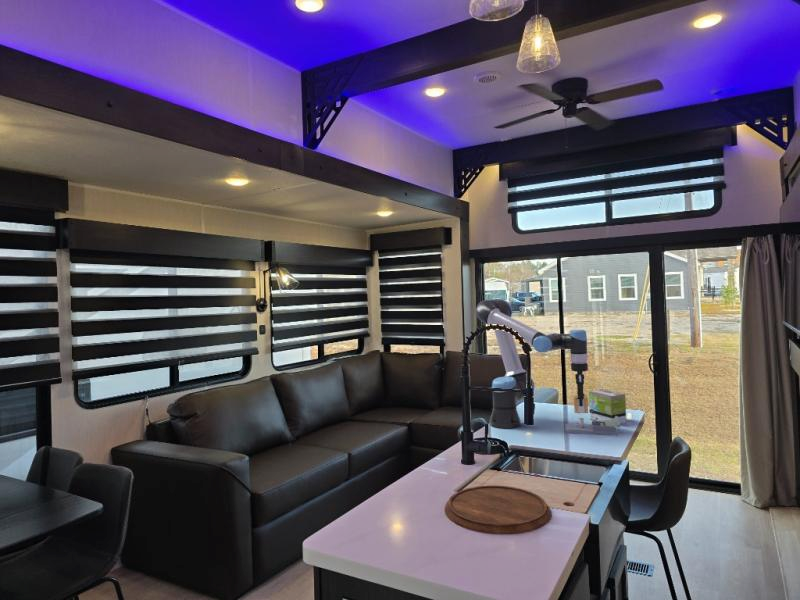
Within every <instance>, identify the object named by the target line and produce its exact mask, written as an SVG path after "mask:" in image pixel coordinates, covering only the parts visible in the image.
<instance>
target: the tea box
mask: <svg viewBox="0 0 800 600" xmlns="http://www.w3.org/2000/svg"><path fill="white" fill-rule="evenodd" d="M626 403H627V402H626V393H623V392H616V391H611V390H608V389H604V388H603V389H596V390H590V391H588V413H589V420H591V421H604V420H615V416H618V418H619V421H620V425H622V424H625V423H627V408H626V407H627V406H626ZM621 423H622V424H621Z"/></svg>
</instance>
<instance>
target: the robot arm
mask: <svg viewBox="0 0 800 600" xmlns="http://www.w3.org/2000/svg"><path fill="white" fill-rule="evenodd" d="M475 314H476V317H477V318H478V320H479V321H481V322H482V323H484V324H486V325H488V326H489V324H499V325H505V326H506V327H508V328H512V329H513V330H514V331H516V332H518V333H519V335H520V336H521V337H523V338H524V341H525V343H526V344H528V345H530V346H532V347H533V349H534V350H535V351H536V352H538V353H548V352H551V351H558V350H570V351H569V352H570V362H571V363H570V369H571V370H570V371H572V372H576V374H575V375H574V377H575V383H576V388H577V389H576V394H577V395H576V396H578V398H576V399H578V413H577V414H585V413H584V396H586V395H585V393H584V384H585V383H584V382H585V374H583V372H585V373H586V372H587V371H589V365H588V358H589V357H590V356H589V355H588V338H587V331H586V330H584V329H571V330H569V333H557V332H554V333H548V334H545V333H543V332H541V331H539V330H537V329H535V328H533V327H531V326H530V325H529V326H528V325H527V324H525V323H523V322H521V321H520V320H517V319H514V318H513V315H512V314H513V307H512V304H511V303H510V302H508V300H505V299H501V298H496V299H484V300H482V301H480V302H479V303H478V304H477V306H476V309H475ZM493 330H494V329H493ZM494 334H495V338H496V340H497V341H496V342H497V344H498V348H499V351H500V355H501V359H502V361H503V363H502V364H503V365H504V368H505V369H504V370H505V375H504V376H499V377H496V378H494V379H493V380H492V383H491V389H492V388H506V389H524V388H526V372H527V370H525V369H523V366H522V363H521V359H520V355H519V352H518V349H517V345H516V342H515V338H514V336H513V335H512V334H510V333H508V332H506V331H502V330H494ZM524 341H523V342H524ZM530 378H531V386H532V388H533V393H534V392H535V388H536V387H535V382H534V380H533V378H532V377H530ZM491 391H492V390H491ZM491 394H492V411H491V415H490V418H489V425H490V426H491V427H493V428H497V429H516V428H519V427H520V426H521V424H522V423H521V418H520V415H519V413H518V409H517V408H518V407H517V402H518V401H522V400H525V399H524V395H523V394H522V393H521V392H512V391H492V393H491Z"/></svg>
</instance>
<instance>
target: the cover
mask: <svg viewBox="0 0 800 600" xmlns="http://www.w3.org/2000/svg"><path fill="white" fill-rule="evenodd" d="M604 423H605V426H606V427H616V428H620V425H621V424H620V421H619V418H618V416H615V420H604Z"/></svg>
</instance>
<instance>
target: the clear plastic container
mask: <svg viewBox="0 0 800 600" xmlns="http://www.w3.org/2000/svg"><path fill="white" fill-rule="evenodd" d="M577 422H578V423H567V422H566V423H565V433H566V434H580V433H585V435H603V434H604V435H605V434H606V436H608V435H609V436H617V435H618V433H617V427H606V426H605V423H604V421H596V420H591V424H589V423H588V424H587V423H585V419H584V418H583V417H579V418H578V421H577Z"/></svg>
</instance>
